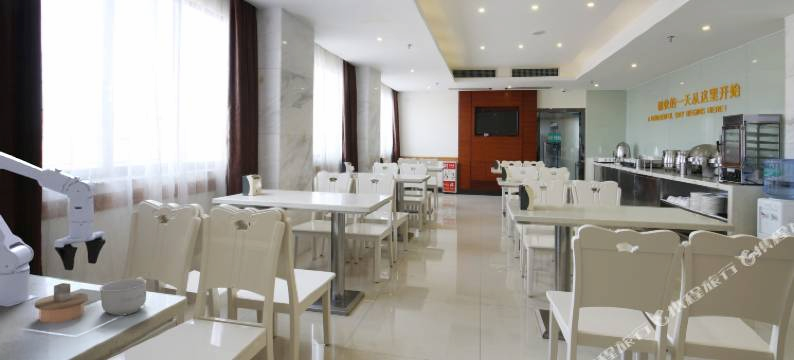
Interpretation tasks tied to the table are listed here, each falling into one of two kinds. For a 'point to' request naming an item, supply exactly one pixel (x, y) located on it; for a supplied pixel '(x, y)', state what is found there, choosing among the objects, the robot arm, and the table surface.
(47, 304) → the lid
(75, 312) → the bowl
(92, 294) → the mat
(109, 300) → the teacup
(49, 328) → the table surface
